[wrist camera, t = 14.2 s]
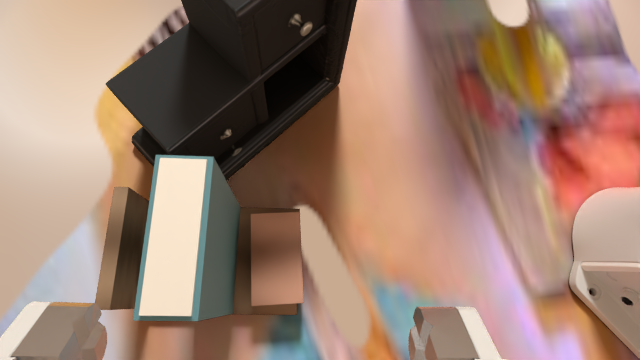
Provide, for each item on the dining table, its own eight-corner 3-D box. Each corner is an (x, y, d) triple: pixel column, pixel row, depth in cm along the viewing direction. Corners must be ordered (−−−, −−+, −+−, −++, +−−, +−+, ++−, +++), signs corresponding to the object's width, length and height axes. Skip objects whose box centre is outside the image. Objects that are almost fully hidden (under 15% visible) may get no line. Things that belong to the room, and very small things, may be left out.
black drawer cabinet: (193, 211, 45) (94, 120, 22) (132, 144, 47) (-16, -3, 24) (341, 85, 51) (381, -87, 28) (282, 29, 52) (275, -175, 30)
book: (233, 313, 41) (197, 321, 25) (192, 313, 41) (131, 320, 25) (240, 206, 44) (212, 155, 28) (203, 205, 44) (154, 153, 28)
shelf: (302, 314, 42) (305, 318, 33) (139, 312, 41) (92, 316, 32) (304, 211, 46) (308, 187, 36) (153, 207, 45) (115, 181, 35)
